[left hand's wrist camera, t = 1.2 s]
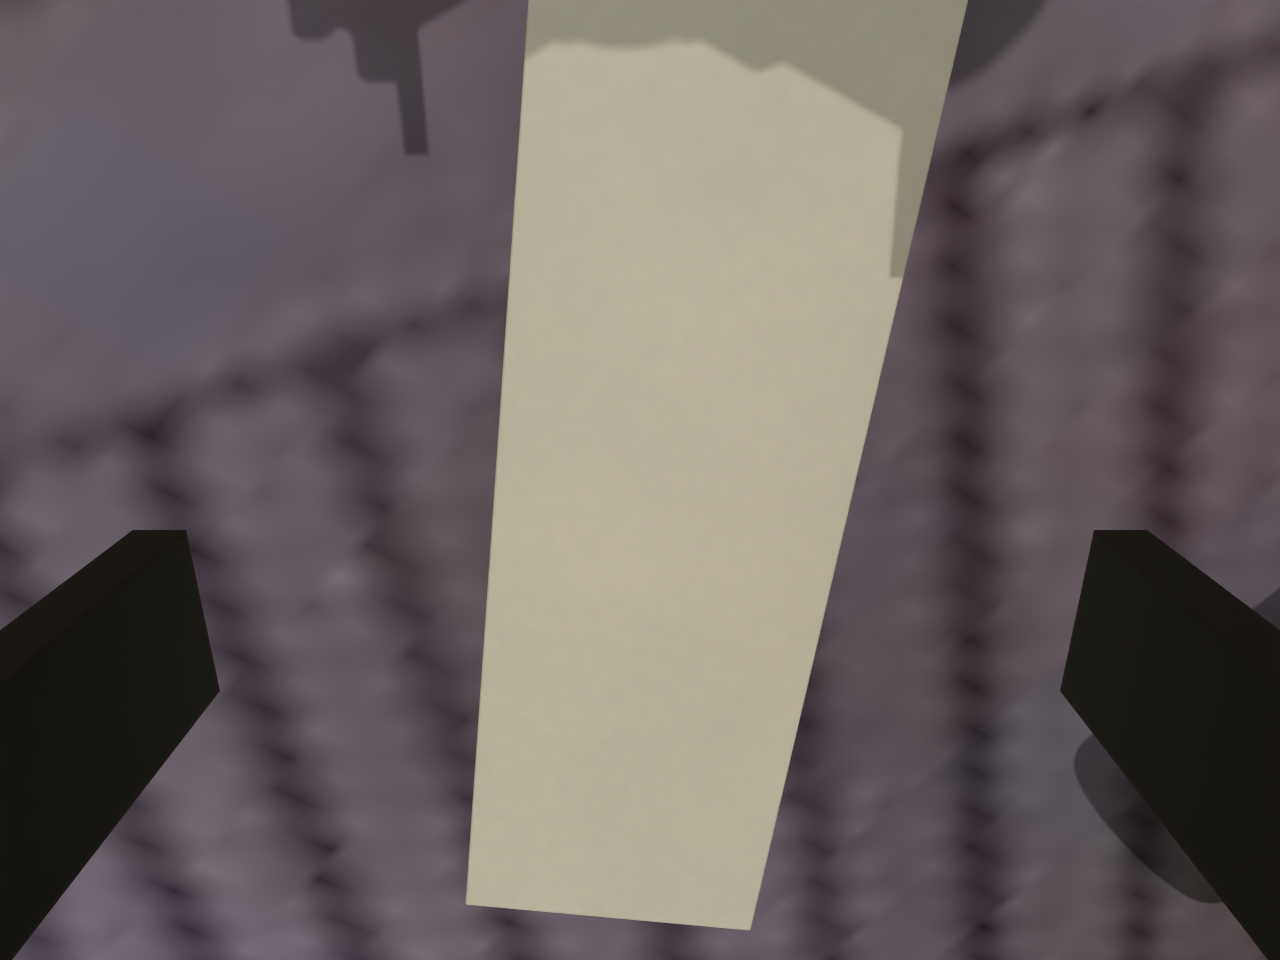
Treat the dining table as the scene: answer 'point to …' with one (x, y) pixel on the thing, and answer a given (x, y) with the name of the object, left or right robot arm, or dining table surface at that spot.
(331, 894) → the dining table surface
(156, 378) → the dining table surface
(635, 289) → the slab
